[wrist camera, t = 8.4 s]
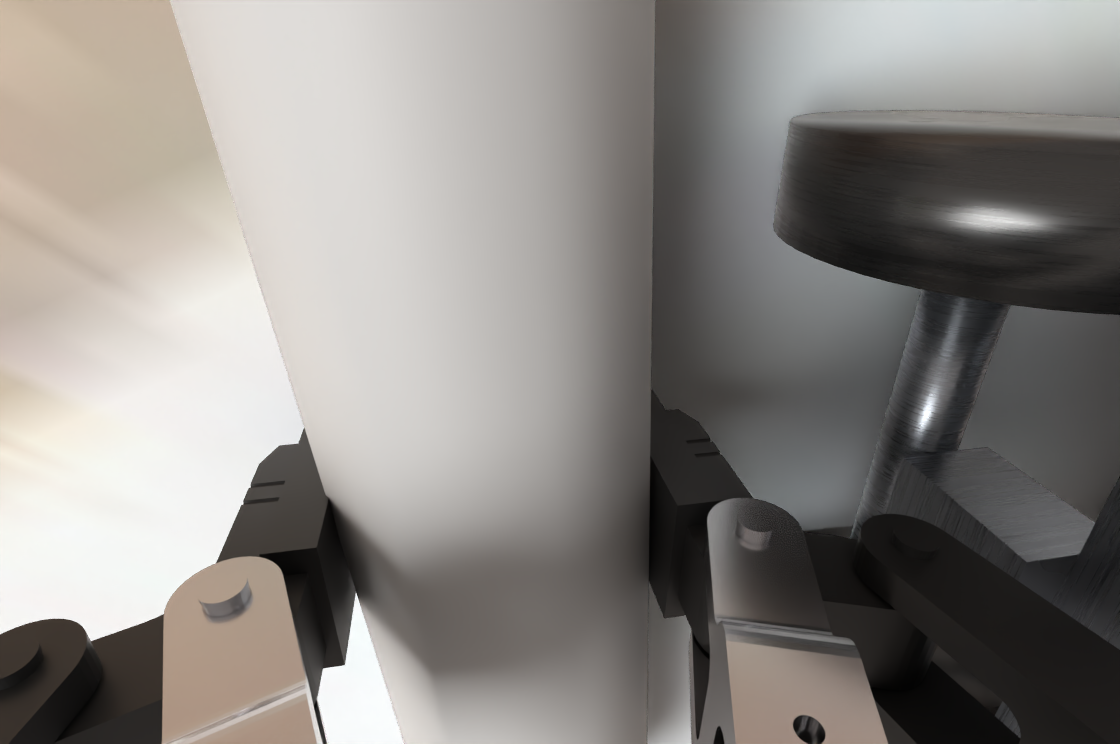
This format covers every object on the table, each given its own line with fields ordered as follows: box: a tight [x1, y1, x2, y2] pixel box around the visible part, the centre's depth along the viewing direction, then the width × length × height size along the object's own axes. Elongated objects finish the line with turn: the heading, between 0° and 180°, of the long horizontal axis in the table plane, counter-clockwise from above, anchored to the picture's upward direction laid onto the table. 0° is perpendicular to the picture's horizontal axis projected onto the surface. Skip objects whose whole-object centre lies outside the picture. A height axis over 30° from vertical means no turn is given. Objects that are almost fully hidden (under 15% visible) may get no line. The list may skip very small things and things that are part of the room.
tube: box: [170, 0, 655, 744], centre depth 10 cm, size 5×5×25 cm
